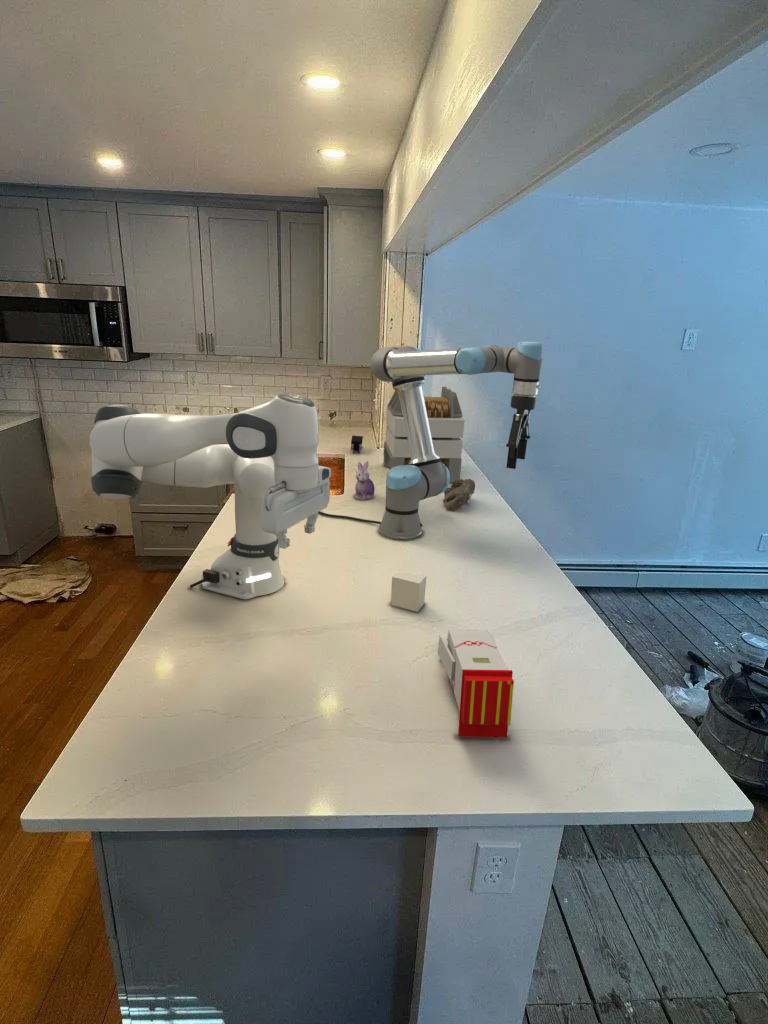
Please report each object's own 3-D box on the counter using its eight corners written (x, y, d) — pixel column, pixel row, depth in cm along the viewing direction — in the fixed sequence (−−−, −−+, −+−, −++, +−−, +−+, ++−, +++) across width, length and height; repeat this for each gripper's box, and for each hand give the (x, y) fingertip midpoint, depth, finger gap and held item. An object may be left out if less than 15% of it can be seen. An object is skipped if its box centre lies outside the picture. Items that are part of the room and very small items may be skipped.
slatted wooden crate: (382, 463, 289) (386, 382, 275) (445, 464, 293) (451, 384, 279) (390, 482, 257) (394, 392, 243) (460, 483, 261) (468, 394, 247)
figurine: (359, 501, 230) (360, 466, 225) (349, 494, 239) (349, 459, 234) (379, 499, 235) (381, 464, 230) (369, 491, 243) (370, 458, 238)
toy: (488, 613, 130) (523, 677, 101) (484, 667, 133) (517, 744, 104) (435, 612, 130) (455, 676, 101) (432, 666, 133) (451, 743, 103)
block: (417, 612, 149) (419, 583, 146) (390, 604, 152) (392, 576, 149) (424, 603, 153) (426, 576, 150) (397, 597, 156) (399, 569, 153)
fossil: (439, 484, 243) (468, 465, 238) (451, 501, 246) (481, 483, 241) (438, 506, 224) (470, 486, 219) (452, 524, 226) (484, 505, 221)
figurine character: (362, 457, 305) (363, 447, 318) (362, 443, 301) (363, 434, 315) (350, 456, 304) (351, 447, 318) (350, 443, 301) (351, 434, 314)
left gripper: (279, 492, 104) (280, 560, 109) (335, 467, 122) (334, 527, 126) (251, 486, 107) (254, 553, 111) (310, 463, 124) (310, 522, 129)
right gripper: (528, 401, 159) (519, 474, 166) (544, 391, 180) (535, 456, 188) (502, 398, 162) (494, 470, 169) (520, 389, 183) (512, 453, 191)
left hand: (297, 539), depth 119 cm, fingers open, 8 cm apart
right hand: (515, 463), depth 178 cm, fingers open, 13 cm apart
